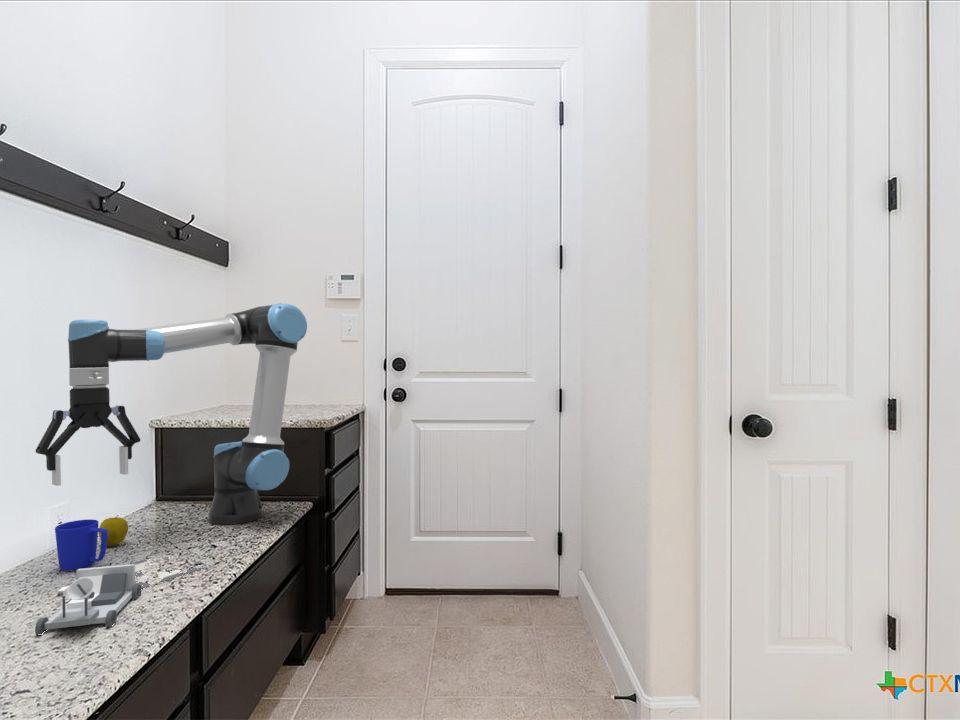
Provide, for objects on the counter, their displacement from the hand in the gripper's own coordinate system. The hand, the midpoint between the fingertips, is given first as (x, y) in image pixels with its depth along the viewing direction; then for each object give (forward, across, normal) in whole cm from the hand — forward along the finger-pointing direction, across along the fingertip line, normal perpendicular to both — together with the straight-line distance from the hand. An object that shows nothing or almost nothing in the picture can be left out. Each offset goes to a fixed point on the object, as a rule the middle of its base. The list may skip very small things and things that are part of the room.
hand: (91, 479), depth 129 cm
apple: (+21, +10, +14) cm, 27 cm away
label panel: (+20, +6, -14) cm, 25 cm away
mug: (+21, -1, +2) cm, 21 cm away
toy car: (+21, -11, -28) cm, 37 cm away
